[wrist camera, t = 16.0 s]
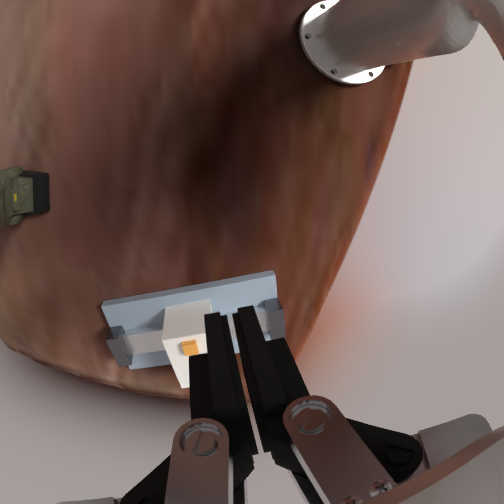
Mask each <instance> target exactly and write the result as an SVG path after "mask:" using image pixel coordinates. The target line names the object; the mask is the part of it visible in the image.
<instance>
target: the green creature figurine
mask: <svg viewBox="0 0 504 504" xmlns="http://www.w3.org/2000/svg"><path fill="white" fill-rule="evenodd" d="M49 210H50V205H49V174H48V173H42V172H33V171H23V170H22V167H13V168H8V169H4V170H1V172H0V228H1V227H2V226H3V225H13V224H17V223H19V222H21V221H22V220H23V219H24V216H26V215H32V214H38V213H44V212H48V211H49Z"/></svg>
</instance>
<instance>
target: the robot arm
mask: <svg viewBox="0 0 504 504" xmlns="http://www.w3.org/2000/svg"><path fill="white" fill-rule="evenodd" d="M479 23H480V24H481V25H482V26H483V27H484V28H485V30H486V31H487V33H488V34H489V36H490V37H491V39H492V41H493V42H494V44H495V45H496V47H497V48H498V50H499V52H500V54H501V56H502V58H503V60H504V0H325V1H321V2H319V3H316V4H315V5H313V6H312V7H311V8H310V9H308V10H307V11H306V13H305V14H304V16H303V17H302V19H301V22H300V27H299V37H300V42H301V46H302V49H303V51H304V52H305V54H306V56H307V58H308V59H309V60H310V62H311V63H312V64H313V65H314V66H315V67H316V68H317V69H318V70H319V71H320V72H321V73H323V74H324V75H325V76H327V77H329V78H330V79H332V80H334V81H337V82H340V83H343V84H350V85H354V84H362V83H366V82H369V81H372V80H373V79H375V78H376V77H377V76H378V75H379V74H380V73H381V72H382V71H383V69H384V67H385V66H387V65H392V64H396V63H401V62H405V61H410V60H411V61H413V60H416V59H421V58H426V57H432V56H438V55H445V54H451V53H455V52H457V51H460V50H462V49H463V48H464V47H466V46H467V45H468V44H469V43H470V41H471V40H472V38H473V37H474V35H475V32H476V30H477V27H478V24H479ZM305 37H307V39H306V38H305ZM331 71H332V73H331ZM237 311H238V312H237V313H232V317H233V322H234V327H235V332H236V337H237V342H238V347H239V352H240V357H241V361H242V366H243V371H244V375H245V379H246V384H247V388H248V392H249V396H250V400H251V404H252V408H253V412H254V416H255V420H256V424H257V428H258V431H259V435H260V439H261V443H262V447H263V450H264V452H270V451H271V455H272V458H273V459H274V461H275V464H277V465H279V466H281V467H284V468H286V469H288V472H289V474H290V475H291V478H292V479H293V481H294V483H295V485H296V486H297V488H298V490H299V492H300V494H301V496H302V497H303V499H304V501H305V503H306V504H504V426H502V427H500V428H497V429H495V430H493V431H492V429H491V427H490V425H489V423H488V422H487V420H486V419H485V418H484V417H482V416H481V415H478V414H469V415H466V416H463V417H460V418H458V419H455V420H452V421H449V422H446V423H443V424H440V425H437V426H434V427H430V428H427V429H424V430H420V431H419V432H418V433H417V434H414V435H411V436H410V435H407V434H404V433H400V432H396V431H392V430H388V429H384V428H380V427H376V426H372V425H368V424H365V423H362V422H358V421H355V420H351V419H348V418H345V417H344V416H343V414H342V413H341V412H340V410H339V409H338V408H337V406H335V404H334V403H333V402H332V401H330V400H328V399H326V398H324V397H321V396H316V395H315V396H310V394H309V392H308V390H307V388H306V385H305V384H304V381H303V379H302V377H301V374H300V372H299V370H298V367H297V365H296V363H295V360H294V358H293V356H292V354H291V351H290V349H289V347H288V345H287V342H286V340H285V338H284V337H282V338H277V339H273V340H269V341H266V340H265V337H264V334H263V332H262V329H261V326H260V323H259V320H258V317H257V315H256V312H255V309H254V306H253V305H250V306H245V307H240V308H237ZM204 323H205V334H206V344H207V353H203V354H197V355H191V356H189V387H190V407H191V421H188V422H186V423H185V424H183V425H182V426H181V427H180V428H179V429H178V431H177V432H176V433H175V436H174V439H173V445H172V452H171V454H170V456H168V457H167V458H166V459H165V460H164V461H163V462H162V463H161V464H160V465H159V466H157V467H156V468H155V469H154V470H153V471H152V472H151V473H150V474H149V475H147V476H146V477H145V478H144V479H143V480H142V481H141V482H139V483H138V484H137V485H136V486H135V487H134V488H132V489H131V490H130V491H129V492H128V493H126V494H125V496H124V497H123V498H117V499H115V498H113V497H108V498H100V499H92V500H82V501H69V502H60V503H57V504H247V481H246V478H247V477H248V476H249V474H250V473H251V472H252V471H253V469H254V465H253V463H254V461H253V457H252V455H255V454H258V449H257V445H256V442H255V437H254V433H253V429H252V425H251V421H250V417H249V412H248V408H247V404H246V400H245V395H244V391H243V386H242V382H241V378H240V373H239V369H238V364H237V360H236V355H235V351H234V346H233V342H232V337H231V332H230V328H229V323H228V318H227V315H222V316H221V315H220V312H215V313H209V314H204Z"/></svg>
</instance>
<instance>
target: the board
mask: <svg viewBox="0 0 504 504" xmlns="http://www.w3.org/2000/svg"><path fill="white" fill-rule="evenodd" d="M276 297H277V287H276V277H275V273H274V272H273V270H270V271H265V272H260V273H254V274H249V275H244V276H239V277H234V278H229V279H223V280H218V281H213V282H207V283H202V284H197V285H191V286H186V287H180V288H175V289H169V290H164V291H158V292H153V293H147V294H141V295H135V296H130V297H124V298H118V299H112V300H106V301H103V303H102V306H101V308H102V310H103V312H104V315H105V317H106V319H107V322H108V324H109V326H110V327H114V326H121V325H122V326H123V328H124V329H131V328H138V327H145V326H151V325H158V324H164V316H165V307H169V306H175V305H180V304H185V303H191V302H196V301H202V300H207V299H210V303H211V308H212V313H215V312H220V314H221V313H226V312H231V311H236V310H237V308H240V307H245V306H250V305H253V306H254V307H256V306H261V305H264V303H263V300H267V299H272V298H276ZM263 334H264V337H265V340H266V341H269V340H271V339H270V336H269V334H268V331H266V332H263ZM232 342H233V346H234V351H235V353H240V352H239V347H238V342H237V338H232ZM169 364H171V362H170V359H169V357H168V354H167V352H166V350H162V351H155V352H148V353H140V354H133V359H132V365H131V366H129V368H130V369H138V368H147V367H155V366H162V365H169Z"/></svg>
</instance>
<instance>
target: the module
mask: <svg viewBox="0 0 504 504" xmlns="http://www.w3.org/2000/svg"><path fill="white" fill-rule="evenodd" d="M209 313H212V308H211V303H210V299H207V300H202V301H196V302H191V303H185V304H180V305H175V306H169V307H165V316H164V325H163V334H162V342H163V344H164V347H165V349H166V352H167V354H168V357H169V359H170V362H171V364H172V366H173V369H174V371H175V373H176V376H177V378H178V380H179V383H180V385H181V387H182V388H187V387H189V356H191V355H197V354H203V353H207V344H206V334H205V323H204V314H209Z"/></svg>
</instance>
